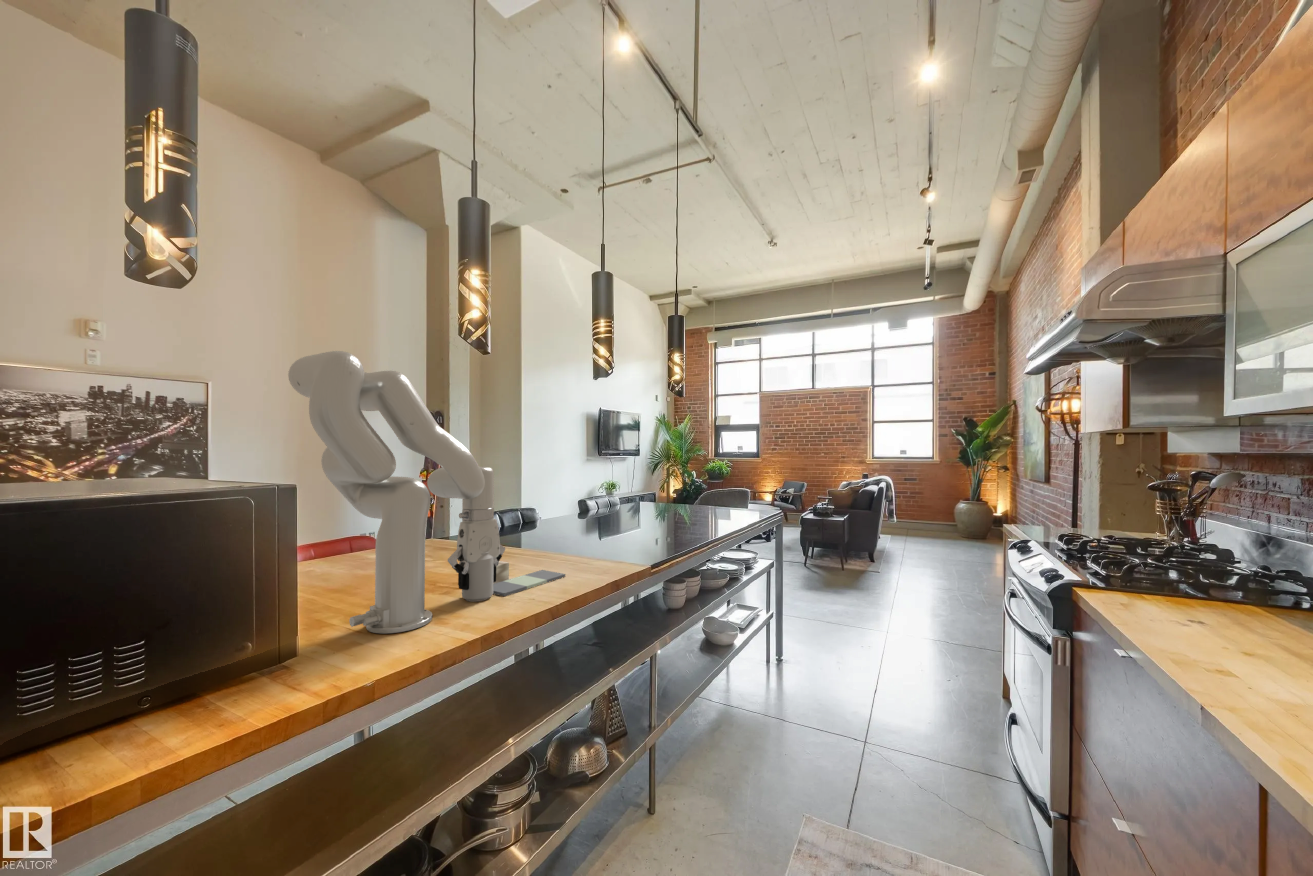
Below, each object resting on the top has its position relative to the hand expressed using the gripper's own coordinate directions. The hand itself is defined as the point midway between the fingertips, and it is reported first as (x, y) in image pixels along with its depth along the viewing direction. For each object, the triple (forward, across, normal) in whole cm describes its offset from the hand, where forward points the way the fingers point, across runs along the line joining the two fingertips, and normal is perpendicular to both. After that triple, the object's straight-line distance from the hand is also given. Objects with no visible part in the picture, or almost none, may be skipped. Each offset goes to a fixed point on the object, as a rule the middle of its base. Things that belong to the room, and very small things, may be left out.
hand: (477, 584), depth 122 cm
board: (+3, +16, 0) cm, 16 cm away
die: (+3, +13, +9) cm, 17 cm away
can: (+4, 0, 0) cm, 4 cm away
